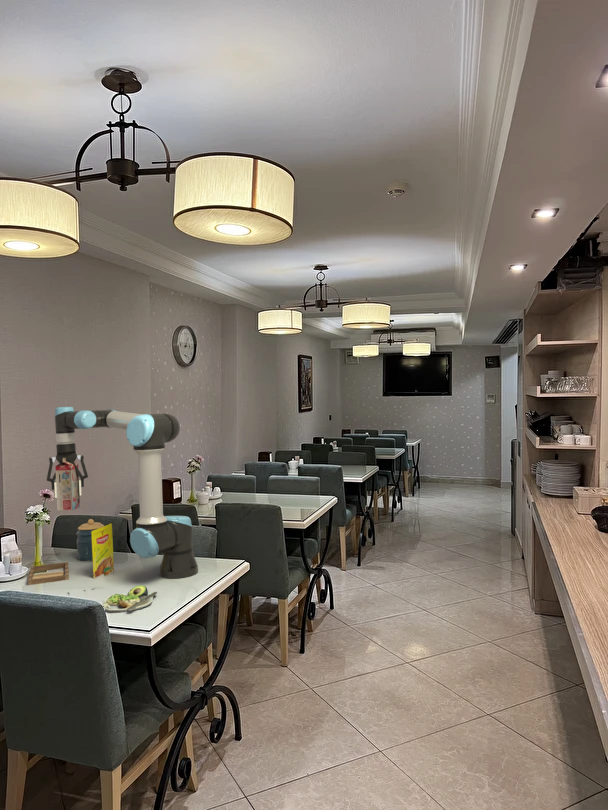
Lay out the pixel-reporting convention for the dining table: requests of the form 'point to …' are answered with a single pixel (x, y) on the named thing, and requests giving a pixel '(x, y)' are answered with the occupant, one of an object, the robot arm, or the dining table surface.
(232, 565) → the dining table surface
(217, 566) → the dining table surface
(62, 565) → the walnut rack
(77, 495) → the juice carton
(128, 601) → the salad plate
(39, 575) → the upper oak offcut
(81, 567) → the dining table surface
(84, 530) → the canister
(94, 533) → the food package
